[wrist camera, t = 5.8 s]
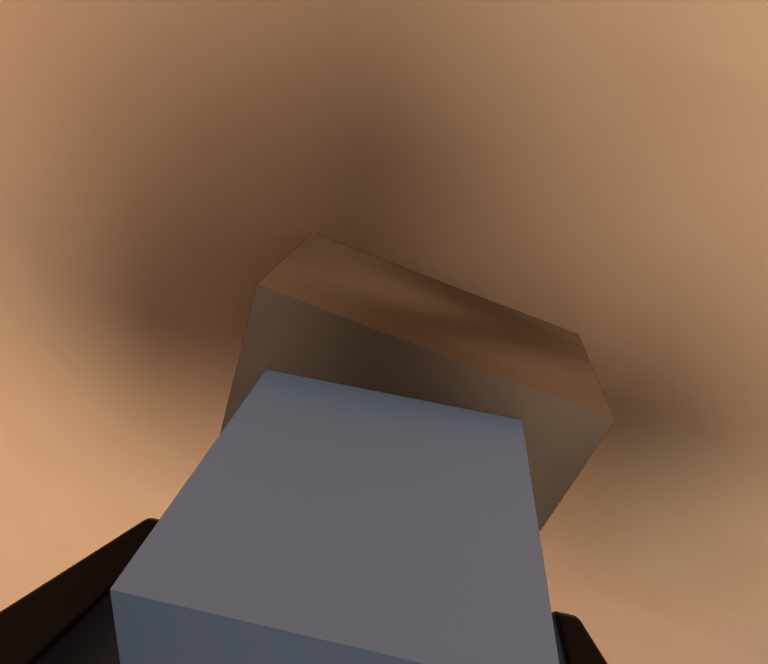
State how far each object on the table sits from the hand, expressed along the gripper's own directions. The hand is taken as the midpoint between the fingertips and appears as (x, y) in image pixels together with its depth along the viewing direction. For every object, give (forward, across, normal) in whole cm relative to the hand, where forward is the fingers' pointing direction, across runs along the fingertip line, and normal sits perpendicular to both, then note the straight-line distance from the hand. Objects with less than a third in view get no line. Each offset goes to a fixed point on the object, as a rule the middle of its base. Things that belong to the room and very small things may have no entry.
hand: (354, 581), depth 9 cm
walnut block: (+6, 0, 0) cm, 6 cm away
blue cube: (+2, 0, 0) cm, 2 cm away
